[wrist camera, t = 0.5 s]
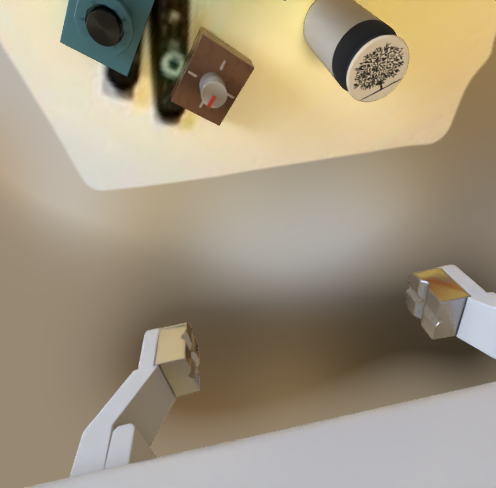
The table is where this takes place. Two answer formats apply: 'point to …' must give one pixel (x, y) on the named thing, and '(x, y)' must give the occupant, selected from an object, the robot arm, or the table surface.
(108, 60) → the button box
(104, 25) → the button
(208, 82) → the dial knob
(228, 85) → the dial panel
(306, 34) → the travel mug
